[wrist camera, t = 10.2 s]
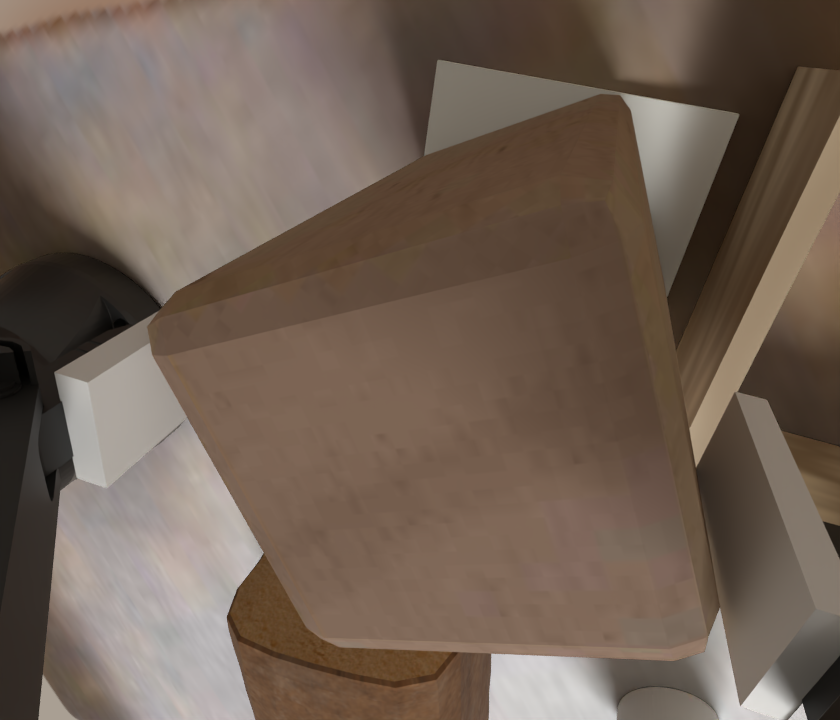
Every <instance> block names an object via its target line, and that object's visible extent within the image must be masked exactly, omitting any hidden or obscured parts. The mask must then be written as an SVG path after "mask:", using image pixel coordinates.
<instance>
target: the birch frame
mask: <svg viewBox="0 0 840 720" xmlns="http://www.w3.org/2000/svg"><path fill="white" fill-rule="evenodd" d="M839 192H840V70H831V69H821V68H810V67H800V66H798V67H797V70H796V72H795V74H794V77H793V79H792V81H791V84H790V86H789V88H788V91H787V93H786V95H785V98H784V100H783V102H782V105H781V107H780V109H779V112H778V114H777V116H776V119H775V121H774V123H773V126H772V128H771V130H770V133H769V135H768V138H767V140H766V142H765V145H764V147H763V149H762V152H761V154H760V156H759V159H758V161H757V163H756V166H755V168H754V170H753V173H752V175H751V177H750V180H749V182H748V184H747V187H746V189H745V191H744V194H743V196H742V198H741V201H740V203H739V205H738V208H737V210H736V212H735V215H734V217H733V219H732V222H731V224H730V226H729V229H728V231H727V233H726V236H725V238H724V240H723V243H722V245H721V247H720V250H719V252H718V254H717V257H716V259H715V261H714V264H713V266H712V268H711V271H710V273H709V275H708V278H707V280H706V282H705V285H704V287H703V290H702V292H701V294H700V297H699V299H698V301H697V304H696V306H695V308H694V311H693V313H692V315H691V318H690V320H689V322H688V325H687V327H686V329H685V332H684V334H683V336H682V339H681V341H680V343H679V346H678V348H677V350H676V354H677V360H678V366H679V371H680V377H681V383H682V389H683V395H684V400H685V406H686V412H687V418H688V424H689V430H690V435H691V441H692V447H693V453H694V459H695V464H696V467H697V465H698V463H699V461H700V459H701V457H702V455H703V453H704V451H705V449H706V447H707V445H708V443H709V441H710V440H711V438H712V436H713V434H714V432H715V430H716V428H717V426H718V424H719V422H720V420H721V418H722V416H723V414H724V412H725V410H726V408H727V406H728V404H729V402H730V400H731V398H732V396H733V394H734V392H738V390H739V388H740V386H741V384H742V382H743V380H744V378H745V376H746V374H747V372H748V370H749V368H750V366H751V364H752V362H753V360H754V358H755V357H756V355H757V353H758V351H759V349H760V347H761V345H762V343H763V341H764V339H765V337H766V335H767V333H768V331H769V329H770V327H771V325H772V323H773V321H774V319H775V317H776V315H777V314H778V312H779V310H780V308H781V306H782V304H783V302H784V300H785V298H786V296H787V294H788V292H789V290H790V288H791V286H792V284H793V282H794V280H795V278H796V276H797V274H798V273H799V271H800V269H801V267H802V265H803V263H804V261H805V259H806V257H807V255H808V253H809V251H810V249H811V247H812V245H813V243H814V241H815V239H816V237H817V235H818V233H819V231H820V230H821V228H822V226H823V224H824V222H825V220H826V218H827V216H828V214H829V212H830V210H831V208H832V206H833V204H834V202H835V200H836V198H837V196H838V194H839ZM781 432H782V434H783V436H784V438H785V440H786V443H787V445H788V447H789V449H790V451H791V454H792V456H793V458H794V460H795V462H796V464H797V467H798V469H799V471H800V473H801V475H802V478H803V480H804V482H805V484H806V486H807V489H808V491H809V493H810V495H811V497H812V500H813V502H814V504H815V506H816V508H817V510H818V513H819V515H820V517H821V519H822V521H824V522H828V523H831V524H835V525H838V526H840V446H836V445H832V444H829V443H825V442H821V441H817V440H814V439H810V438H806V437H803V436H799V435H795V434H792V433H788V432H784V431H781Z"/></svg>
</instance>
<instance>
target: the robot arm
mask: <svg viewBox="0 0 840 720" xmlns="http://www.w3.org/2000/svg"><path fill="white" fill-rule="evenodd" d="M159 310H160V308H159V307H158V306H157V304H156V303H155V302H154V301H153V300H152V299H151V298H150V297H149V296H148V295H147V294H146V293H145V292H144V291H143V290H142V289H141V288H140V287H139V286H138V285H137V284H135V283H134V282H133V281H132V280H130V279H129V278H128V277H126V276H125V275H123V274H122V273H120V272H119V271H117V270H116V269H114V268H112V267H110V266H109V265H107V264H105V263H102V262H100V261H98V260H95V259H93V258H90V257H87V256H83V255H79V254H73V253H54V254H49V255H45V256H42V257H40V258H37V259H34V260H31V261H29V262H26V263H23V264H20V265H18V266H16V267H14V268H12V269H10V270H8V271H7V272H5V273H4V274H3V275H2V276H0V720H38V716H39V706H40V696H41V685H42V675H43V664H44V654H45V643H46V633H47V622H48V612H49V601H50V591H51V580H52V570H53V559H54V549H55V538H56V528H57V517H58V507H59V496H60V490H62V489H63V488H64V487H65V486H67V485H68V484H69V483H71V482H72V481H74V480H75V479H81V480H84V481H87V482H90V483H93V484H95V485H98V486H101V487H104V488H108V487H109V486H110V485H111V484H113V483H114V482H115V481H116V480H117V479H118V478H119V477H121V476H122V475H123V474H124V473H125V472H126V471H127V470H128V469H130V468H131V467H132V466H133V465H134V464H135V463H136V462H138V461H139V460H140V459H141V458H142V457H143V456H144V455H145V454H147V453H148V452H149V451H150V450H151V449H152V448H154V447H156V446H157V445H158V444H160V443H161V442H162V441H163V440H164V439H166V438H167V437H168V436H169V435H170V434H171V433H173V432H174V431H175V430H176V429H177V428H178V427H179V426H180V425H181V424H182V422H183V421H184V420H185V419H186V418H187V416H186V414H185V412H184V411H183V409H182V407H181V405H180V404H179V402H178V400H177V398H176V397H175V395H174V393H173V391H172V390H171V388H170V386H169V384H168V382H167V381H166V379H165V377H164V375H163V374H162V372H161V370H160V368H159V367H158V365H157V363H156V361H155V359H154V358H153V356H152V352H151V346H150V341H149V335H148V329H147V326H148V325H149V324H150V322H151V321H152V320H153V318H154V317H155V316H156V314H157V313H158V312H159ZM696 470H697V476H698V482H699V488H700V494H701V499H702V505H703V511H704V517H705V523H706V529H707V534H708V540H709V546H710V552H711V558H712V563H713V569H714V575H715V581H716V587H717V593H718V598H719V604H720V609H721V614H722V619H723V624H724V629H725V634H726V639H727V643H728V648H729V653H730V658H731V663H732V668H733V673H734V678H735V683H736V688H737V693H738V698H739V703H740V707H743V708H746V709H749V710H752V711H755V712H758V713H761V714H763V715H766V716H769V717H772V718H775V719H778V720H788V719H789V718H790V717H791V716H792V714H793V713H794V712H795V711H796V710H797V709H798V708H799V706H800V705H801V704H802V703H803V706H804V709H805V713H806V716H807V719H808V720H840V526H838V525H835V524H831V523H828V522H824V521H822V519H821V517H820V515H819V513H818V510H817V508H816V506H815V504H814V502H813V500H812V497H811V495H810V493H809V491H808V489H807V486H806V484H805V482H804V480H803V478H802V475H801V473H800V471H799V469H798V467H797V464H796V462H795V460H794V458H793V456H792V454H791V451H790V449H789V447H788V445H787V443H786V440H785V438H784V436H783V434H782V432H781V429H780V427H779V425H778V423H777V421H776V418H775V416H774V414H773V412H772V410H771V407H770V405H769V403H768V401H767V400H766V399H762V398H758V397H754V396H751V395H747V394H743V393H739V392H734V394H733V396H732V398H731V400H730V402H729V404H728V406H727V408H726V410H725V412H724V414H723V416H722V418H721V420H720V422H719V424H718V426H717V428H716V430H715V432H714V434H713V436H712V438H711V440H710V441H709V443H708V445H707V447H706V449H705V451H704V453H703V455H702V457H701V459H700V461H699V463H698V465H697V467H696Z"/></svg>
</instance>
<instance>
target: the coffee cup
mask: <svg viewBox="0 0 840 720" xmlns="http://www.w3.org/2000/svg"><path fill="white" fill-rule="evenodd" d="M617 720H719V719H718V716H717V714H716V713H715V711H714V710H713V709H712V708H711V707H710V706H709V705H708V704H707V703H705V702H704V701H703V700H701V699H699V698H698V697H696V696H694V695H691V694H689V693H686V692H684V691H680V690H677V689H672V688H665V687H646V688H640V689H637V690H634V691H631V692H629V693H628V694H626V695H625V696H624V697H623V698H622V699H621V700H620V702H619V705H618V713H617Z"/></svg>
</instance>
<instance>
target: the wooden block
mask: <svg viewBox="0 0 840 720" xmlns="http://www.w3.org/2000/svg"><path fill="white" fill-rule="evenodd" d="M147 329H148V335H149V341H150V346H151V352H152V356H153V358H154V359H155V361H156V363H157V365H158V367H159V368H160V370H161V372H162V374H163V375H164V377H165V379H166V381H167V382H168V384H169V386H170V388H171V390H172V391H173V393H174V395H175V397H176V398H177V400H178V402H179V404H180V405H181V407H182V409H183V411H184V412H185V414H186V416H187V418H188V420H189V421H190V423H191V425H192V427H193V428H194V430H195V432H196V434H197V435H198V437H199V439H200V441H201V443H202V444H203V446H204V448H205V450H206V451H207V453H208V455H209V457H210V458H211V460H212V462H213V464H214V466H215V467H216V469H217V471H218V473H219V474H220V476H221V478H222V480H223V481H224V483H225V485H226V487H227V488H228V490H229V492H230V494H231V496H232V497H233V499H234V501H235V503H236V504H237V506H238V508H239V510H240V511H241V513H242V515H243V517H244V519H245V520H246V522H247V524H248V526H249V527H250V529H251V531H252V533H253V534H254V536H255V538H256V540H257V541H258V543H259V545H260V547H261V549H262V550H263V552H264V554H265V556H266V557H267V559H268V561H269V563H270V564H271V566H272V568H273V570H274V572H275V573H276V575H277V577H278V579H279V580H280V582H281V584H282V586H283V587H284V589H285V591H286V593H287V595H288V596H289V598H290V600H291V602H292V603H293V605H294V607H295V609H296V610H297V612H298V614H299V616H300V617H301V619H302V621H303V623H304V625H305V626H306V628H308V629H309V630H310V631H312V632H313V633H314V634H316V635H317V636H318V637H319V638H321V639H323V640H325V641H327V642H329V643H331V644H333V645H336V646H338V647H344V648H368V649H393V650H418V651H442V652H467V653H492V654H516V655H541V656H566V657H590V658H615V659H640V660H664V661H676V660H679V659H683V658H686V657H689V656H692V655H696V654H699V653H702V652H705V648H706V644H707V640H708V636H709V634H710V631H711V629H712V626H713V623H714V621H715V618H716V616H717V613H718V611H719V608H720V604H719V598H718V593H717V587H716V581H715V575H714V569H713V563H712V558H711V552H710V546H709V540H708V534H707V529H706V523H705V517H704V511H703V505H702V499H701V494H700V488H699V482H698V476H697V470H696V464H695V459H694V453H693V447H692V441H691V435H690V430H689V424H688V418H687V412H686V406H685V400H684V395H683V389H682V383H681V377H680V371H679V366H678V360H677V354H676V348H675V342H674V336H673V331H672V325H671V319H670V313H669V307H668V302H667V296H666V290H665V285H664V279H663V274H662V269H661V264H660V259H659V253H658V248H657V243H656V238H655V233H654V228H653V222H652V217H651V212H650V207H649V202H648V196H647V191H646V186H645V181H644V176H643V171H642V165H641V160H640V155H639V150H638V145H637V140H636V134H635V129H634V124H633V119H632V114H631V110H630V108H629V107H628V106H627V104H626V103H625V101H624V100H623V99H622V97H621V96H620V95H611V94H599V95H596V96H593V97H590V98H587V99H585V100H582V101H579V102H576V103H573V104H570V105H567V106H565V107H562V108H559V109H556V110H553V111H550V112H548V113H545V114H542V115H539V116H536V117H533V118H530V119H528V120H525V121H522V122H519V123H516V124H513V125H510V126H508V127H505V128H502V129H499V130H496V131H493V132H491V133H488V134H485V135H482V136H479V137H476V138H473V139H471V140H468V141H465V142H462V143H459V144H456V145H454V146H451V147H448V148H445V149H442V150H439V151H436V152H434V153H431V154H428V155H425V156H424V157H422V158H420V159H418V160H416V161H414V162H413V163H411V164H409V165H407V166H405V167H403V168H402V169H400V170H398V171H396V172H394V173H392V174H391V175H389V176H387V177H385V178H383V179H381V180H380V181H378V182H376V183H374V184H372V185H370V186H369V187H367V188H365V189H363V190H361V191H359V192H358V193H356V194H354V195H352V196H350V197H348V198H347V199H345V200H343V201H341V202H339V203H337V204H336V205H334V206H332V207H330V208H328V209H326V210H325V211H323V212H321V213H319V214H317V215H315V216H314V217H312V218H310V219H308V220H306V221H304V222H303V223H301V224H299V225H297V226H295V227H294V228H292V229H290V230H288V231H286V232H284V233H283V234H281V235H279V236H277V237H275V238H273V239H272V240H270V241H268V242H266V243H264V244H262V245H261V246H259V247H257V248H255V249H253V250H251V251H250V252H248V253H246V254H244V255H242V256H240V257H239V258H237V259H235V260H233V261H231V262H229V263H228V264H226V265H224V266H222V267H220V268H218V269H217V270H215V271H213V272H211V273H209V274H207V275H206V276H204V277H202V278H200V279H198V280H196V281H195V282H193V283H191V284H189V285H187V286H185V287H184V288H182V289H180V290H178V291H176V292H175V293H174V294H173V296H172V297H171V298H170V299H169V300H168V301H167V302H166V304H165V305H164V306H163V307H162V308H161V309H160V310H159V312H158V313H157V314H156V316H155V317H154V318H153V320H152V321H151V322H150V324H149V325H148V326H147Z"/></svg>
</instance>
